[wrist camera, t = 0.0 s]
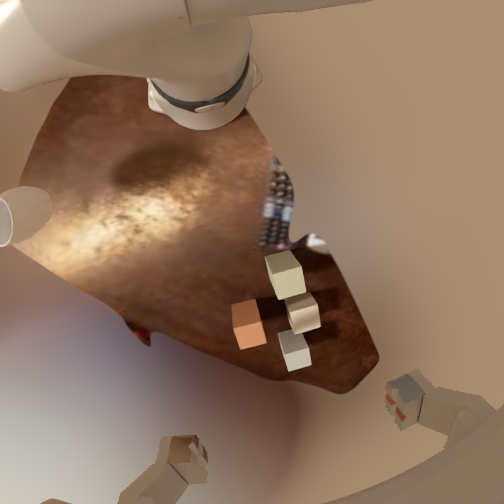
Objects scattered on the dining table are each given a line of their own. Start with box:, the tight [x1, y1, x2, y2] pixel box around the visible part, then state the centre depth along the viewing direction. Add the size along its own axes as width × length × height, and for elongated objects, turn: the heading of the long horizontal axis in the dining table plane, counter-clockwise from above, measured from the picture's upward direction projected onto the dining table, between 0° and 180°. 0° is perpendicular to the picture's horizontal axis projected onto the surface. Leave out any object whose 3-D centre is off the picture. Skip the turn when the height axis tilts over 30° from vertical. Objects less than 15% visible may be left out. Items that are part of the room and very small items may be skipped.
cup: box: [0, 186, 52, 247], centre depth 32 cm, size 7×7×21 cm
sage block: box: [265, 250, 306, 300], centre depth 46 cm, size 4×4×8 cm
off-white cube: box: [285, 292, 321, 334], centre depth 50 cm, size 5×5×5 cm
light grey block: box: [278, 329, 311, 371], centre depth 51 cm, size 4×4×7 cm
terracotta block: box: [232, 299, 267, 349], centre depth 48 cm, size 4×4×8 cm
